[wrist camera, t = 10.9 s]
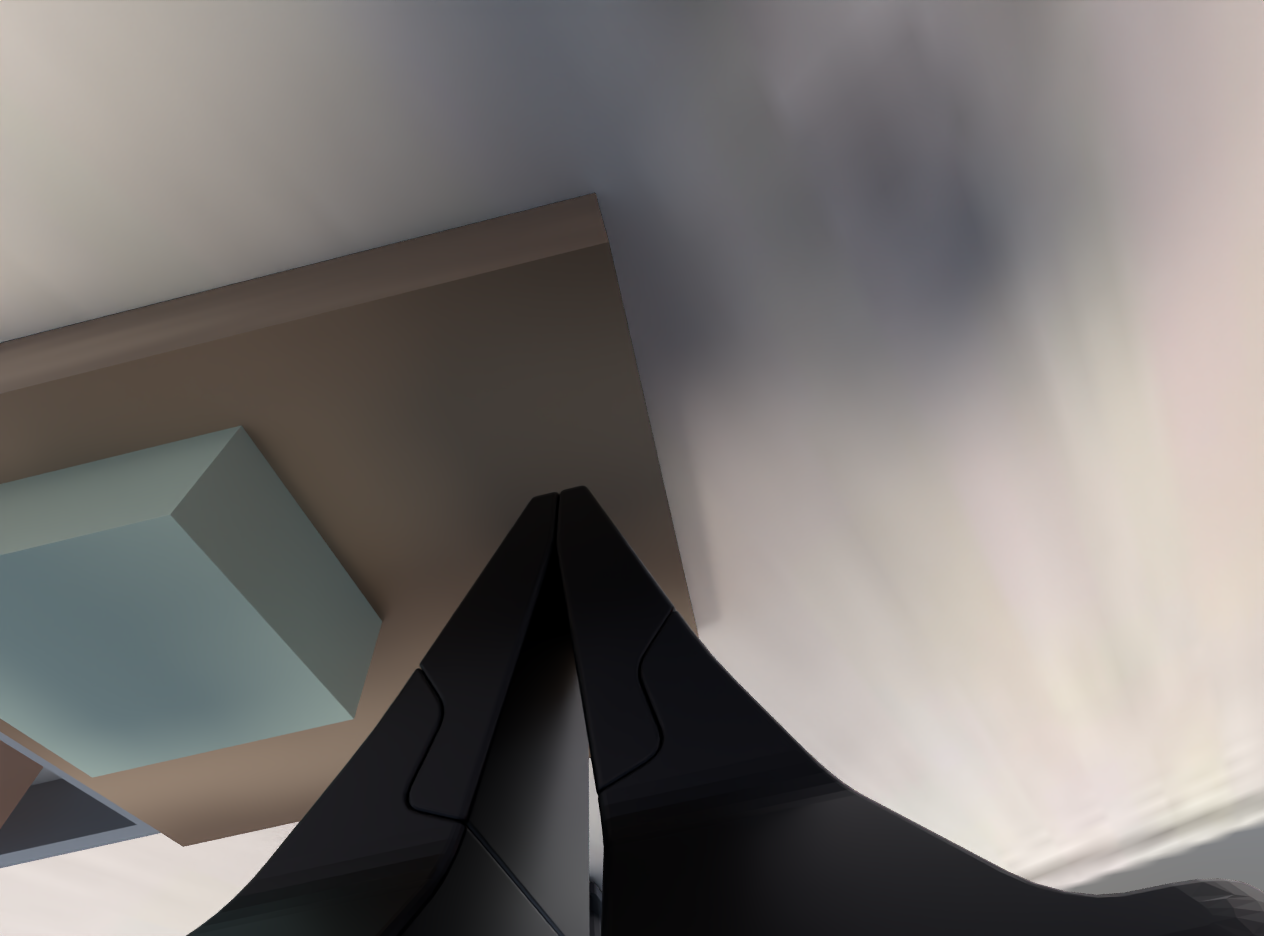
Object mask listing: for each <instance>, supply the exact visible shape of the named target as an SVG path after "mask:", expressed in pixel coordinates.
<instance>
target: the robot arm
mask: <svg viewBox="0 0 1264 936" xmlns="http://www.w3.org/2000/svg"><path fill="white" fill-rule="evenodd" d="M419 666H420V668H421V669H420V668H417V669H415V671H414V672H413V674H412V675H411V677H410V678H409V680H408V681H407V682H406V684H405V685H404V687H403V688H402V690H401V691H400V693H399V694H398V696H397V697H396V698H395V700H394V701H393V703H392V704H391V705H390V707H389V708H388V710H387V711H386V712H385V714H384V715H383V717H382V718H381V719H380V721H379V722H378V724H377V725H376V726H375V728H374V729H373V730H372V732H371V733H370V734H369V735H368V737H367V738H366V739H365V741H364V742H363V743H362V744H361V746H360V747H359V748H358V750H357V751H356V752H355V753H354V755H353V756H352V757H351V759H350V760H349V761H348V762H347V764H346V765H345V766H344V767H343V769H342V770H341V771H340V772H339V774H338V775H337V776H336V777H335V779H334V780H333V781H332V782H331V784H330V785H329V786H328V787H327V788H326V790H325V791H324V792H323V793H322V795H321V796H320V797H319V798H318V800H317V801H316V802H315V803H314V805H313V806H312V807H311V808H310V809H309V811H308V812H307V813H306V814H305V816H304V817H303V818H302V819H301V821H300V822H299V823H298V824H297V826H296V827H295V828H294V829H293V831H292V832H291V833H290V834H289V835H288V837H287V838H286V839H285V840H284V842H283V843H282V844H281V845H280V847H279V848H278V849H277V850H276V852H275V853H274V854H273V855H272V856H271V858H270V859H269V860H268V861H267V863H266V864H265V865H264V866H263V867H262V868H261V870H260V871H259V872H258V873H257V874H256V875H255V877H254V878H253V879H252V880H251V881H250V882H249V883H248V884H247V885H246V886H245V887H244V888H243V889H242V890H241V891H240V892H239V893H238V894H237V895H236V896H235V897H234V898H233V899H232V900H231V901H230V902H229V903H228V904H227V905H226V906H225V907H223V908H222V909H221V910H220V911H219V912H218V913H217V914H215V915H214V916H213V917H211V918H210V919H209V920H207V921H206V922H205V923H204V924H202V925H201V926H200V927H198V928H197V929H195V930H194V931H192V932H191V933H189V934H188V935H186V936H1264V891H1262V890H1260V889H1258V888H1255V887H1254V886H1251V885H1249V884H1246V883H1244V882H1241V881H1236V880H1227V879H1219V878H1216V879H1195V880H1189V881H1183V882H1176V883H1170V884H1165V885H1160V886H1155V887H1150V888H1145V889H1141V890H1135V891H1130V892H1125V893H1114V894H1101V895H1094V894H1085V893H1075V892H1068V891H1063V890H1059V889H1055V888H1052V887H1048V886H1044V885H1040V884H1037V883H1034V882H1031V881H1029V880H1027V879H1025V878H1022V877H1020V876H1018V875H1015V874H1013V873H1011V872H1008V871H1006V870H1005V869H1003V868H1001V867H999V866H997V865H995V864H993V863H991V862H989V861H987V860H986V859H984V858H982V857H980V856H978V855H976V854H974V853H972V852H970V851H968V850H967V849H965V848H963V847H961V846H959V845H957V844H955V843H953V842H951V841H949V840H948V839H946V838H944V837H942V836H940V835H938V834H936V833H934V832H932V831H930V830H929V829H927V828H925V827H923V826H921V825H919V824H917V823H915V822H913V821H911V820H910V819H908V818H906V817H904V816H902V815H900V814H898V813H896V812H894V811H892V810H891V809H889V808H887V807H885V806H883V805H881V804H879V803H877V802H875V801H873V800H872V799H870V798H868V797H866V796H864V795H862V794H860V793H859V792H857V791H855V790H854V789H852V788H851V787H849V786H848V785H846V784H845V783H843V782H842V781H841V780H839V779H838V778H837V777H836V776H834V775H833V774H832V773H831V772H829V771H828V770H827V769H826V768H825V767H824V766H822V765H821V764H820V763H819V762H818V761H817V760H816V759H815V758H814V757H813V756H812V755H810V754H809V753H808V752H807V751H806V750H805V749H804V748H803V747H802V746H801V745H800V744H799V743H798V742H797V741H796V740H795V739H794V738H793V737H792V736H791V735H790V734H789V733H788V732H787V731H786V730H785V729H784V728H783V727H782V726H781V725H780V724H779V723H778V722H777V721H776V720H775V719H774V718H773V717H772V716H771V715H770V714H769V713H768V712H767V711H766V710H765V709H764V708H763V707H762V706H761V705H760V704H759V703H758V702H757V701H756V700H755V699H754V698H753V697H752V696H751V695H750V694H749V693H748V692H747V691H746V690H745V689H744V688H743V687H742V686H741V685H740V684H739V683H738V682H737V681H736V680H735V679H734V678H733V677H732V676H731V675H730V674H729V672H728V671H727V670H726V669H725V668H724V667H723V666H722V665H721V664H720V663H719V662H718V661H717V660H716V658H715V657H714V656H713V655H712V654H711V653H710V652H709V650H708V649H707V648H706V647H705V645H704V644H703V643H702V642H701V640H700V639H699V638H698V637H697V635H696V634H695V633H694V632H693V630H692V629H691V628H690V626H689V625H688V624H687V622H686V621H685V620H684V618H683V617H682V616H681V614H680V613H679V612H678V611H676V608H675V607H674V605H673V604H672V602H671V601H670V600H669V598H668V597H667V596H666V594H665V593H664V591H663V590H662V589H661V587H660V586H659V585H658V583H657V582H656V581H655V579H654V578H653V576H652V575H651V574H650V572H649V571H648V570H647V568H646V567H645V565H644V564H643V563H642V561H641V560H640V559H639V557H638V556H637V555H636V553H635V552H634V550H633V549H632V548H631V546H630V545H629V544H628V542H627V541H626V539H625V538H624V537H623V535H622V534H621V533H620V531H619V530H618V529H617V527H616V526H615V524H614V523H613V522H612V520H611V519H610V518H609V516H608V515H607V513H606V512H605V511H604V509H603V508H602V507H601V505H600V504H599V503H598V501H597V500H596V498H595V497H594V496H593V494H592V493H591V492H590V490H589V489H588V488H587V487H586V486H584V485H581V486H577V487H573V488H569V489H564V490H562V491H561V492H560V494H559V493H558V492H551V493H547V494H543V495H538V496H535V497H533V498H532V499H531V500H530V501H529V503H528V504H527V506H526V507H525V509H524V510H523V512H522V513H521V515H520V516H519V518H518V519H517V520H516V522H515V523H514V525H513V526H512V528H511V529H510V531H509V532H508V534H507V535H506V537H505V538H504V540H503V541H502V543H501V544H500V546H499V547H498V549H497V550H496V551H495V553H494V554H493V556H492V557H491V559H490V560H489V562H488V563H487V565H486V566H485V568H484V569H483V571H482V572H481V574H480V575H479V577H478V578H477V580H476V581H475V582H474V584H473V585H472V587H471V588H470V590H469V591H468V593H467V594H466V596H465V597H464V599H463V600H462V602H461V603H460V605H459V606H458V608H457V609H456V611H455V612H454V613H453V615H452V616H451V618H450V619H449V621H448V622H447V624H446V625H445V627H444V628H443V630H442V631H441V633H440V634H439V636H438V637H437V639H436V640H435V642H434V643H433V644H432V646H431V647H430V649H429V650H428V652H427V653H426V655H425V656H424V658H423V659H422V661H421V662H420V664H419ZM589 749H590V756H591V762H592V768H593V774H594V780H595V786H596V792H597V794H598V803H599V809H600V816H601V824H602V834H603V845H604V859H603V885H602V892H601V891H600V889H599V888H598V886H597V885H596V884H595V883H593V882H589Z"/></svg>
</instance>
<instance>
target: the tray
mask: <svg viewBox="0 0 1264 936" xmlns="http://www.w3.org/2000/svg"><path fill="white" fill-rule="evenodd" d="M0 740H1V741H3V742H4V743H6V744H7V745H9V746H11V747H12V748H14V749H16V750H17V751H19V752H20V753H22V754H24V755H25V756H27V757H28V758H30V759H32V760H33V761H35V762H37V763H38V764H40V765H41V766H43V768H42V770H41V771H40V773H39V774H38V776H37V777H36V778H35V780H34V781H33V783H32V784H31V786H30V787H29V788H28V790H27V791H26V793H25V794H24V796H23V797H22V799H21V800H20V801H19V803H18V804H17V806H16V807H15V809H14V810H13V811H12V813H11V814H10V816H9V817H8V819H7V820H6V821H5V823H4V824H3V826H2V827H1V829H0V868H3V867H8V866H12V865H17V864H21V863H26V862H30V861H35V860H39V859H44V858H49V857H53V856H58V855H62V854H67V853H71V852H76V851H80V850H85V849H90V848H94V847H99V846H103V845H108V844H112V843H117V842H121V841H126V840H131V839H135V838H140V837H144V836H149V835H153V834H158V833H161V832H159V831H158V830H156V829H154V828H153V827H151V826H150V825H148V824H146V823H145V822H143V821H142V820H140V819H138V818H137V817H135V816H134V815H132V814H130V813H129V812H127V811H126V810H124V809H123V808H121V807H119V806H118V805H116V804H115V803H113V802H111V801H110V800H108V799H107V798H105V797H103V796H102V795H100V794H99V793H97V792H95V791H94V790H92V789H91V788H89V787H87V786H86V785H84V784H83V783H81V782H80V781H78V780H76V779H75V778H73V777H72V776H70V775H68V774H67V773H65V772H64V771H62V770H60V769H59V768H57V767H56V766H54V765H52V764H51V763H49V762H48V761H46V760H44V759H43V758H41V757H40V756H38V755H37V754H35V753H33V752H32V751H30V750H29V749H27V748H25V747H24V746H22V745H21V744H19V743H17V742H16V741H14V740H13V739H11V738H9V737H8V736H6V735H5V734H3V733H1V732H0Z"/></svg>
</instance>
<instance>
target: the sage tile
mask: <svg viewBox="0 0 1264 936" xmlns="http://www.w3.org/2000/svg"><path fill="white" fill-rule="evenodd" d="M381 624H382V620H381V619H380V618H379V616H378V615H377V613H376V612H375V611H374V609H373V608H372V606H371V605H370V604H369V602H368V601H367V599H366V598H365V597H364V595H363V594H362V592H361V591H360V590H359V588H358V587H357V586H356V584H355V583H354V581H353V580H352V579H351V577H350V576H349V574H348V573H347V572H346V570H345V569H344V567H343V566H342V565H341V563H340V562H339V560H338V559H337V558H336V556H335V555H334V553H333V552H332V551H331V549H330V548H329V547H328V545H327V544H326V542H325V541H324V540H323V538H322V537H321V535H320V534H319V533H318V531H317V530H316V528H315V527H314V526H313V524H312V523H311V521H310V520H309V519H308V517H307V516H306V514H305V513H304V512H303V510H302V509H301V508H300V506H299V505H298V503H297V502H296V501H295V499H294V498H293V496H292V495H291V494H290V492H289V491H288V489H287V488H286V487H285V485H284V484H283V482H282V481H281V480H280V478H279V477H278V475H277V474H276V473H275V471H274V470H273V468H272V467H271V466H270V464H269V463H268V462H267V460H266V459H265V457H264V456H263V455H262V453H261V452H260V450H259V449H258V448H257V446H256V445H255V443H254V442H253V441H252V439H251V438H250V436H249V435H248V434H247V432H246V431H245V429H244V428H243V427H242V425H241V426H237V427H233V428H229V429H224V430H220V431H216V432H212V433H208V434H204V435H200V436H196V437H192V438H188V439H183V440H179V441H175V442H171V443H167V444H163V445H159V446H155V447H151V448H146V449H142V450H138V451H134V452H130V453H126V454H122V455H118V456H114V457H110V458H105V459H101V460H97V461H93V462H89V463H85V464H81V465H77V466H73V467H69V468H64V469H60V470H56V471H52V472H48V473H44V474H40V475H36V476H32V477H28V478H23V479H19V480H15V481H11V482H7V483H3V484H0V719H2V720H4V721H5V722H7V723H8V724H10V725H11V726H13V727H14V728H16V729H17V730H19V731H21V732H22V733H24V734H25V735H27V736H28V737H30V738H31V739H33V740H35V741H36V742H38V743H39V744H41V745H42V746H44V747H45V748H47V749H49V750H50V751H52V752H53V753H55V754H56V755H58V756H59V757H61V758H63V759H64V760H66V761H67V762H69V763H70V764H72V765H73V766H75V767H77V768H78V769H80V770H81V771H83V772H84V773H86V774H87V775H89V776H90V777H92V778H93V777H97V776H102V775H106V774H111V773H115V772H120V771H124V770H129V769H133V768H137V767H142V766H146V765H151V764H155V763H160V762H164V761H169V760H173V759H178V758H182V757H187V756H191V755H196V754H200V753H204V752H209V751H213V750H218V749H222V748H227V747H231V746H236V745H240V744H245V743H249V742H254V741H258V740H262V739H267V738H271V737H276V736H280V735H285V734H289V733H294V732H298V731H303V730H307V729H312V728H316V727H320V726H325V725H329V724H334V723H338V722H343V721H347V720H352V719H354V717H355V714H356V710H357V707H358V704H359V700H360V697H361V693H362V690H363V686H364V683H365V679H366V676H367V673H368V669H369V666H370V662H371V659H372V655H373V652H374V648H375V645H376V642H377V638H378V635H379V631H380V628H381Z"/></svg>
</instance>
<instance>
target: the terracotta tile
mask: <svg viewBox="0 0 1264 936" xmlns="http://www.w3.org/2000/svg"><path fill="white" fill-rule="evenodd" d="M42 768H43V766H41V765H40V764H38V763H37V762H35V761H33V760H32V759H30V758H28V757H27V756H25V755H24V754H22V753H20V752H19V751H17V750H16V749H14V748H12V747H11V746H9V745H7V744H6V743H4V742H3V741H1V740H0V829H1V827H2V826H3V824H4V823H5V821H6V820H7V819H8V817H9V816H10V814H11V813H12V811H13V810H14V809H15V807H16V806H17V804H18V803H19V801H20V800H21V799H22V797H23V796H24V794H25V793H26V791H27V790H28V788H29V787H30V786H31V784H32V783H33V781H34V780H35V778H36V777H37V776H38V774H39V773H40V771H41V770H42Z"/></svg>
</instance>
